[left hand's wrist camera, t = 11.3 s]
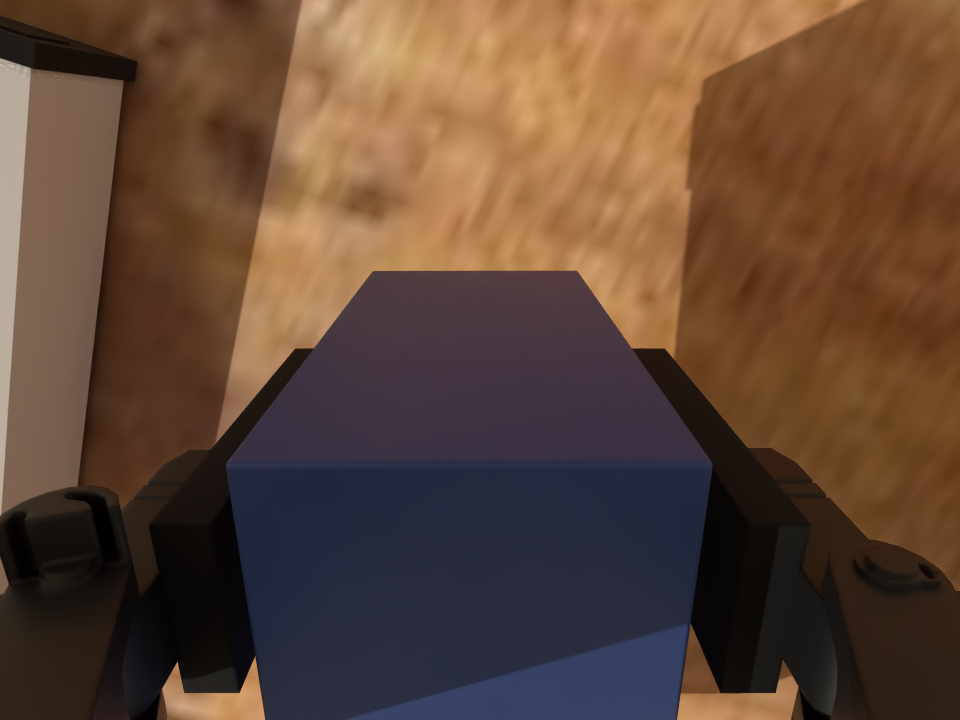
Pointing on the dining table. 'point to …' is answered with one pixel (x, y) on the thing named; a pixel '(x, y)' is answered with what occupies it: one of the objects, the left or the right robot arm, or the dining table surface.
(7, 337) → the disc drive
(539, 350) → the bar
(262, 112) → the dining table surface
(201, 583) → the left robot arm
